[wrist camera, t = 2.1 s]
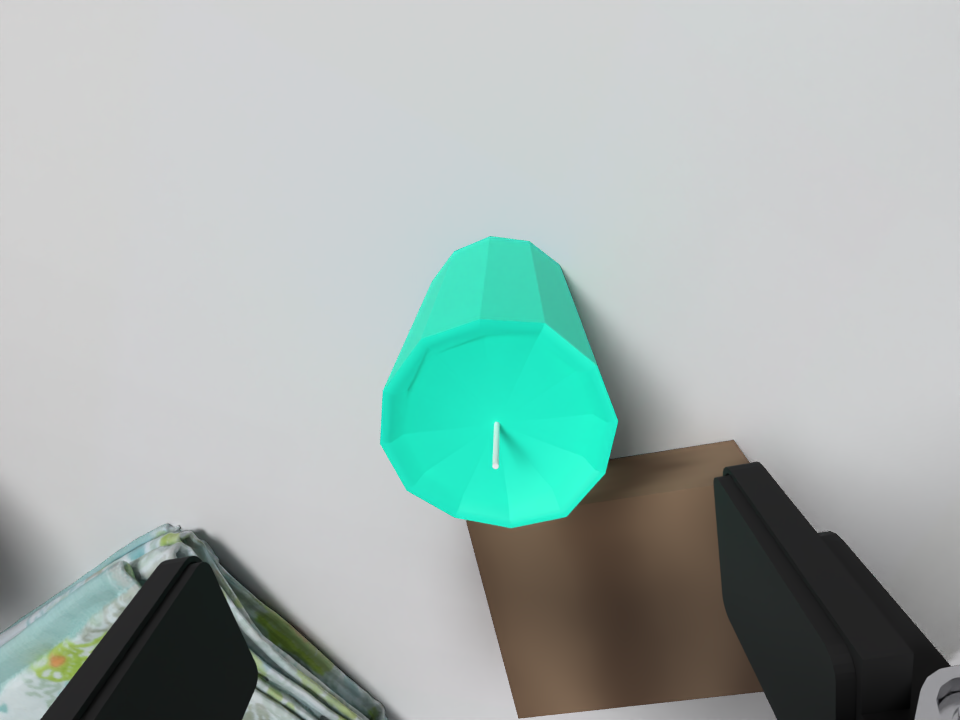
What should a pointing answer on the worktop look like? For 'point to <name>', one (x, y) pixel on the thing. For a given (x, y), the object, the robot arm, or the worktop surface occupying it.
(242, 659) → the robot arm
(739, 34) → the worktop surface
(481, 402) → the candle
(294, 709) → the towel
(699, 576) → the walnut base
